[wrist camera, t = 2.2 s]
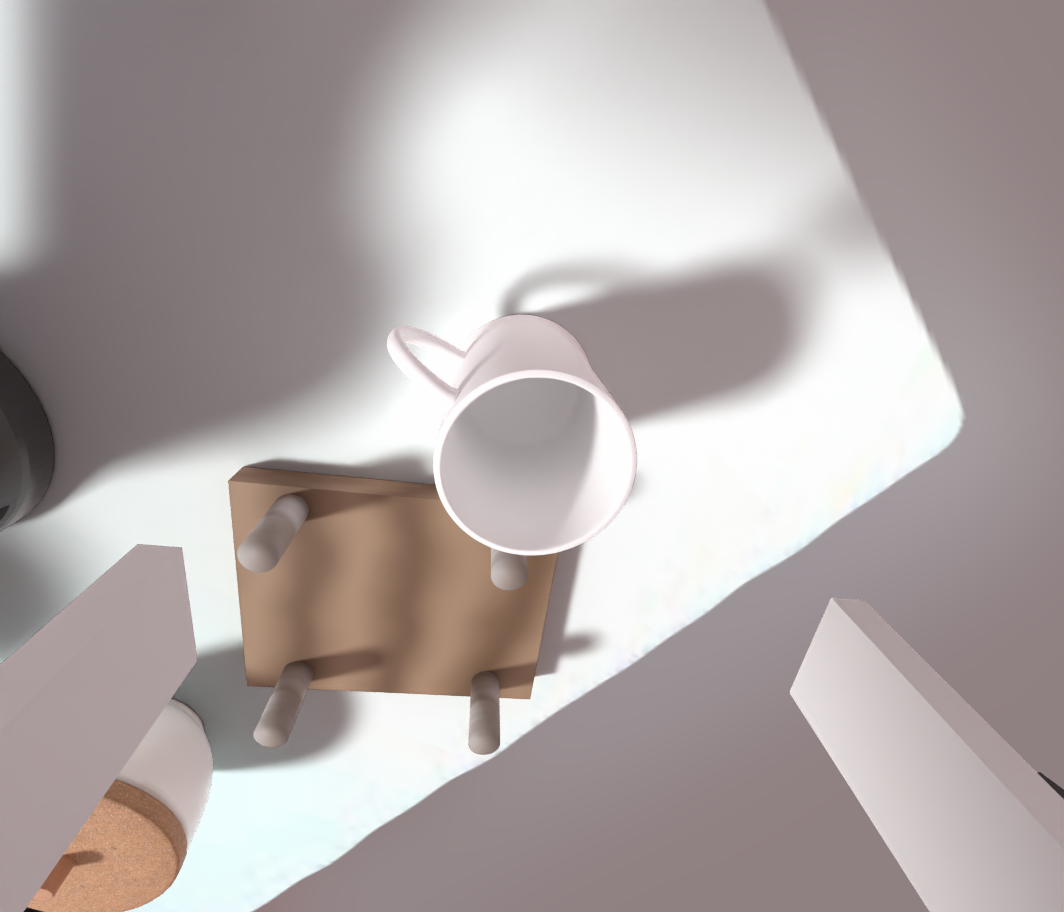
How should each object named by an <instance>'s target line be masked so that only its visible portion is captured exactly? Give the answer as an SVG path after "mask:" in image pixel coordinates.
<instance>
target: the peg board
mask: <svg viewBox="0 0 1064 912" xmlns="http://www.w3.org/2000/svg"><path fill="white" fill-rule="evenodd" d="M228 483H229V494H230V505H231V516H232V527H233V538H234V549H235V559H236V570H237V581H238V592H239V603H240V614H241V625H242V636H243V647H244V657H245V668H246V679H247V686H259V687H275V688H274V691H273V693H272V695H271V697H270V699H269V701H268V703H267V705H266V707H265V709H264V712H263V714H262V716H261V718H260V720H259V722H258V724H257V726H256V728H255V730H254V733H253V736H254V739H255V740H256V742H258V743H259V744H260V745H262V746H265V747H279V746H282V745H283V744H285V743H286V741H287V739H288V737H289V734H290V732H291V729H292V727H293V724H294V722H295V720H296V717H297V715H298V712H299V710H300V707H301V705H302V702H303V700H304V697H305V695H306V692H307V690H308V689H323V690H344V691H366V692H387V693H408V694H429V695H451V696H471V700H470V722H469V743H468V745H469V748H470V750H471V751H473V752H474V753H476V754H481V755H486V754H490V753H493V752H495V751H496V750H497V749H498V748H499V746H500V714H499V698H514V699H530V697H531V691H532V686H533V681H534V676H535V670H536V665H537V660H538V654H539V649H540V644H541V638H542V633H543V628H544V622H545V617H546V612H547V607H548V601H549V596H550V591H551V585H552V580H553V575H554V569H555V564H556V559H557V554H558V552H557V553H552V554H546V555H518V554H511V553H507V552H503V551H499V550H496V549H494V548H491V547H489V546H486V545H484V544H482V543H481V542H479V541H477V540H475V539H474V538H472V537H471V536H470V535H468V534H467V533H466V532H465V531H463V530H462V529H461V528H460V527H459V526H458V525H457V524H456V523H455V522H454V520H453V519H452V518H451V517H450V515H449V514H448V512H447V511H446V509H445V507H444V506H443V504H442V502H441V499H440V497H439V494H438V491H437V488H436V485H432V484H421V483H411V482H400V481H390V480H379V479H368V478H358V477H347V476H337V475H326V474H315V473H305V472H294V471H284V470H273V469H262V468H252V467H242V468H241V469H240V470H239V471H238V472H237V473H236V474H235V475H234V476H233V477H232V478H231V479H230V480H229V481H228Z"/></svg>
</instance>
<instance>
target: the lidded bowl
mask: <svg viewBox="0 0 1064 912" xmlns="http://www.w3.org/2000/svg"><path fill="white" fill-rule="evenodd" d="M212 775H213V760H212V752H211V747H210V745H209V742H208V740H207V737H206V735H205V731H204V726H203V723H202V721H201V720H200V718H199V716H198V715H197V714H196V713H195V712H194V711H193V710H192V709H191V708H189V707H188V706H186V705H185V704H183V703H181V702H179V701H177V700H175V699H173V698H171V700H170V701H169V702H168V704H167V705H166V707H165V708H164V710H163V711H162V713H161V714H160V715H159V717H158V718H157V720H156V721H155V723H154V724H153V726H152V727H151V728H150V730H149V731H148V733H147V734H146V736H145V737H144V739H143V740H142V741H141V743H140V744H139V746H138V747H137V749H136V750H135V752H134V753H133V754H132V756H131V757H130V759H129V760H128V762H127V763H126V765H125V766H124V767H123V769H122V770H121V772H120V773H119V775H118V776H117V778H116V779H115V780H114V782H113V783H112V785H111V786H110V788H109V789H108V791H107V792H106V793H105V795H104V796H103V798H102V799H101V801H100V802H99V804H98V805H97V806H96V808H95V809H94V811H93V812H92V814H91V815H90V817H89V818H88V819H87V821H86V822H85V824H84V825H83V827H82V828H81V830H80V831H79V832H78V834H77V835H76V837H75V838H74V840H73V841H72V843H71V844H70V845H69V847H68V848H67V850H66V851H65V853H64V854H63V856H62V857H61V858H60V860H59V861H58V863H57V864H56V866H55V867H54V869H53V870H52V871H51V873H50V874H49V876H48V877H47V879H46V880H45V882H44V883H43V884H42V886H41V887H40V889H39V890H38V892H37V893H36V895H35V896H34V897H33V899H32V900H31V902H30V903H29V905H28V906H27V907H28V908H32V909H36V910H40V911H44V912H124V911H127V910H131V909H134V908H138V907H140V906H142V905H144V904H147V903H149V902H151V901H152V900H154V899H155V898H157V897H159V896H160V895H161V894H163V893H164V892H165V891H166V890H167V889H168V888H169V887H170V886H171V885H172V883H173V882H174V880H175V879H176V877H177V875H178V873H179V871H180V869H181V867H182V864H183V862H184V859H185V856H186V854H187V850H188V848H189V846H190V844H191V841H192V839H193V837H194V835H195V833H196V830H197V828H198V826H199V823H200V821H201V818H202V815H203V812H204V809H205V807H206V804H207V801H208V797H209V793H210V789H211V785H212Z"/></svg>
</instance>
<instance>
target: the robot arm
mask: <svg viewBox="0 0 1064 912" xmlns="http://www.w3.org/2000/svg"><path fill="white" fill-rule="evenodd" d="M53 465H54V448H53V440H52V435H51V431H50V428H49V424H48V421H47V419H46V416H45V414H44V411H43V409H42V407H41V405H40V403H39V401H38V399H37V397H36V396H35V394H34V392H33V391H32V389H31V388H30V386H29V385H28V383H27V382H26V380H25V379H24V378H23V376H22V375H21V374H20V373H19V371H18V370H17V369H16V368H15V367H14V365H13V364H12V363H11V362H10V361H9V360H8V359H7V358H6V357H5V356H4V355H3V354H2V353H1V352H0V531H1V530H3V529H5V528H6V527H8V526H10V525H11V524H13V523H15V522H16V521H18V520H20V519H21V518H23V517H24V516H25V515H27V514H28V513H29V512H30V511H31V510H32V509H33V508H34V507H35V506H36V505H37V504H38V503H39V501H40V500H41V499H42V497H43V496H44V494H45V492H46V490H47V488H48V486H49V483H50V480H51V477H52V472H53ZM197 661H198V660H197V653H196V646H195V639H194V631H193V624H192V617H191V610H190V602H189V595H188V588H187V581H186V573H185V566H184V559H183V552H182V547H169V546H156V545H143V544H137V545H136V546H135V547H134V548H133V549H132V550H130V551H129V552H128V553H127V554H126V555H125V556H124V557H122V558H121V559H120V560H119V561H118V562H117V563H116V564H114V565H113V566H112V567H111V568H110V569H109V570H108V571H106V572H105V573H104V574H103V575H102V576H101V577H100V578H99V579H97V580H96V581H95V582H94V583H93V584H92V585H91V586H89V587H88V588H87V589H86V590H85V591H84V592H83V593H81V594H80V595H79V596H78V597H77V598H76V599H75V600H73V601H72V602H71V603H70V604H69V605H68V606H67V607H65V608H64V609H63V610H62V611H61V612H60V613H59V614H57V615H56V616H55V617H54V618H53V619H52V620H51V621H49V622H48V623H47V624H46V625H45V626H44V627H43V628H41V629H40V630H39V631H38V632H37V633H36V634H35V635H33V636H32V637H31V638H30V639H29V640H28V641H27V642H25V643H24V644H23V645H22V646H21V647H20V648H19V649H17V650H16V651H15V652H14V653H13V654H12V655H11V656H9V657H8V658H7V659H6V660H5V661H4V662H3V663H1V664H0V912H24V910H25V909H26V908H27V906H28V905H29V903H30V902H31V900H32V899H33V897H34V896H35V895H36V893H37V892H38V890H39V889H40V887H41V886H42V884H43V883H44V882H45V880H46V879H47V877H48V876H49V874H50V873H51V871H52V870H53V869H54V867H55V866H56V864H57V863H58V861H59V860H60V858H61V857H62V856H63V854H64V853H65V851H66V850H67V848H68V847H69V845H70V844H71V843H72V841H73V840H74V838H75V837H76V835H77V834H78V832H79V831H80V830H81V828H82V827H83V825H84V824H85V822H86V821H87V819H88V818H89V817H90V815H91V814H92V812H93V811H94V809H95V808H96V806H97V805H98V804H99V802H100V801H101V799H102V798H103V796H104V795H105V793H106V792H107V791H108V789H109V788H110V786H111V785H112V783H113V782H114V780H115V779H116V778H117V776H118V775H119V773H120V772H121V770H122V769H123V767H124V766H125V765H126V763H127V762H128V760H129V759H130V757H131V756H132V754H133V753H134V752H135V750H136V749H137V747H138V746H139V744H140V743H141V741H142V740H143V739H144V737H145V736H146V734H147V733H148V731H149V730H150V728H151V727H152V726H153V724H154V723H155V721H156V720H157V718H158V717H159V715H160V714H161V713H162V711H163V710H164V708H165V707H166V705H167V704H168V702H169V701H170V700H171V698H172V697H173V695H174V694H175V692H176V691H177V689H178V688H179V687H180V685H181V684H182V682H183V681H184V679H185V678H186V676H187V675H188V674H189V672H190V671H191V669H192V668H193V666H194V665H195V663H196V662H197ZM790 694H791V696H792V697H793V699H794V700H795V702H796V703H797V705H798V707H799V708H800V710H801V711H802V713H803V714H804V716H805V718H806V719H807V721H808V722H809V724H810V725H811V727H812V729H813V730H814V732H815V733H816V735H817V736H818V738H819V739H820V741H821V743H822V744H823V746H824V747H825V749H826V750H827V752H828V754H829V755H830V756H831V758H832V760H833V761H834V763H835V764H836V766H837V768H838V769H839V771H840V772H841V774H842V775H843V777H844V779H845V780H846V782H847V783H848V785H849V786H850V788H851V789H852V791H853V792H854V794H855V796H856V797H857V799H858V800H859V802H860V804H861V805H862V807H863V808H864V810H865V811H866V813H867V814H868V816H869V817H870V819H871V821H872V822H873V824H874V825H875V827H876V828H877V830H878V831H879V833H880V835H881V836H882V838H883V839H884V841H885V843H886V844H887V845H888V847H889V849H890V850H891V852H892V853H893V855H894V857H895V858H896V860H897V861H898V863H899V864H900V866H901V867H902V869H903V871H904V872H905V874H906V875H907V877H908V878H909V880H910V881H911V883H912V885H913V886H914V888H915V889H916V891H917V893H918V894H919V896H920V897H921V899H922V900H923V902H924V903H925V905H926V907H927V908H928V910H929V911H930V912H1064V790H1063V789H1062V788H1060V787H1059V786H1058V785H1057V784H1055V783H1054V782H1053V781H1051V780H1050V779H1048V778H1047V777H1046V776H1044V775H1043V774H1042V773H1040V772H1036V771H1035V770H1034V769H1033V768H1032V767H1031V766H1030V765H1029V764H1028V763H1027V762H1026V761H1024V759H1023V758H1022V757H1021V756H1020V755H1019V754H1018V753H1017V752H1015V750H1014V749H1013V748H1012V747H1011V746H1010V745H1008V743H1007V742H1006V741H1005V740H1004V739H1003V738H1002V737H1001V736H999V734H998V733H997V732H995V730H993V728H992V727H991V726H989V724H988V723H986V722H985V720H984V719H983V718H982V717H981V716H980V715H979V714H978V713H977V712H976V711H974V710H973V708H971V707H970V706H969V704H968V703H967V702H966V701H964V700H963V699H962V697H960V696H959V694H958V693H957V692H955V690H954V689H953V688H952V687H951V686H949V685H948V684H947V683H946V682H945V681H944V680H943V679H942V678H941V677H940V676H939V675H938V674H937V673H936V672H935V671H934V670H933V669H932V668H931V667H930V666H929V665H928V664H927V663H926V662H925V661H924V660H923V659H922V658H921V657H920V656H919V655H918V654H917V653H916V652H915V651H914V650H913V649H912V648H911V647H910V646H909V645H908V644H907V643H906V642H905V641H904V640H903V639H902V638H901V637H900V636H899V635H898V634H897V633H896V632H895V631H894V630H893V629H892V628H891V627H890V626H889V625H888V624H887V623H886V622H885V621H884V620H883V619H882V618H881V617H880V616H879V615H878V614H877V613H876V612H875V611H874V610H873V609H872V608H871V607H870V606H869V605H868V604H867V603H866V602H865V601H864V600H855V599H842V598H831V600H830V602H829V604H828V606H827V609H826V611H825V613H824V615H823V618H822V620H821V622H820V624H819V627H818V629H817V631H816V634H815V636H814V638H813V640H812V642H811V645H810V647H809V650H808V652H807V654H806V656H805V658H804V661H803V663H802V665H801V668H800V670H799V672H798V674H797V677H796V679H795V681H794V683H793V686H792V688H791V690H790Z"/></svg>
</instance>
